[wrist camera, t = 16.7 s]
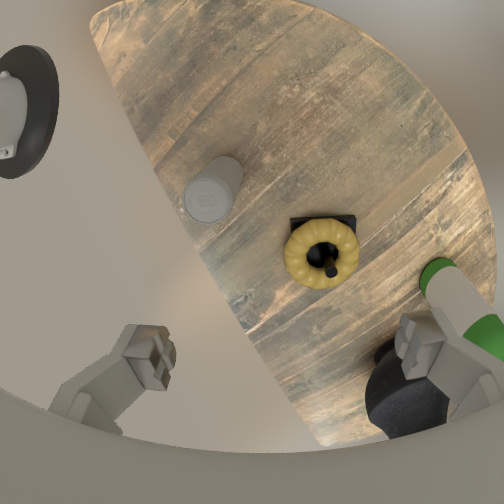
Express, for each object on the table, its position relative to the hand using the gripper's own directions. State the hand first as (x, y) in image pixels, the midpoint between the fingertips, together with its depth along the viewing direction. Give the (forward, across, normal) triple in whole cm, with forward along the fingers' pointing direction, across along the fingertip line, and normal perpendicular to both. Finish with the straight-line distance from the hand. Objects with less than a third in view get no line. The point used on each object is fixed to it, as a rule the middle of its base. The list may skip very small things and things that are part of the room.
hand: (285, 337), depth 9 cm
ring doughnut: (+26, -6, +12) cm, 30 cm away
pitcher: (+29, -24, +36) cm, 52 cm away
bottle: (+29, -27, +19) cm, 44 cm away
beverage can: (+29, +6, 0) cm, 30 cm away
